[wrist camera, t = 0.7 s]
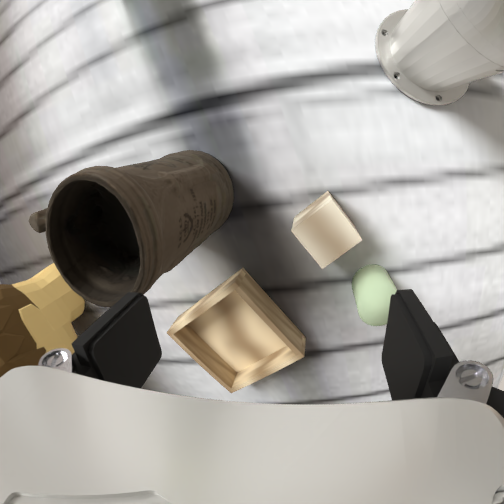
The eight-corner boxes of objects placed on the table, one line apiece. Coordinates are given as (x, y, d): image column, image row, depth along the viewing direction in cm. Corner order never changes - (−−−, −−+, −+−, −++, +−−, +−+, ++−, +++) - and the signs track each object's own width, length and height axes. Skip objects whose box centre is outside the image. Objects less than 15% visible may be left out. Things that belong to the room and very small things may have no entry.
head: (82, 369, 50) (-2, 431, 27) (39, 275, 49) (-60, 312, 25) (124, 361, 46) (25, 443, 23) (73, 251, 44) (-51, 290, 21)
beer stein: (238, 146, 33) (130, 152, 14) (243, 236, 36) (157, 327, 18) (129, 158, 36) (3, 183, 18) (138, 234, 40) (28, 296, 22)
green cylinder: (376, 256, 34) (388, 277, 29) (396, 285, 35) (408, 309, 29) (344, 279, 36) (349, 303, 30) (364, 307, 37) (372, 333, 31)
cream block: (327, 190, 33) (331, 199, 27) (353, 224, 33) (362, 240, 28) (294, 217, 34) (291, 231, 29) (320, 249, 35) (322, 269, 30)
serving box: (242, 267, 38) (234, 282, 34) (305, 336, 40) (304, 356, 36) (178, 316, 42) (166, 332, 38) (237, 374, 44) (231, 393, 40)
